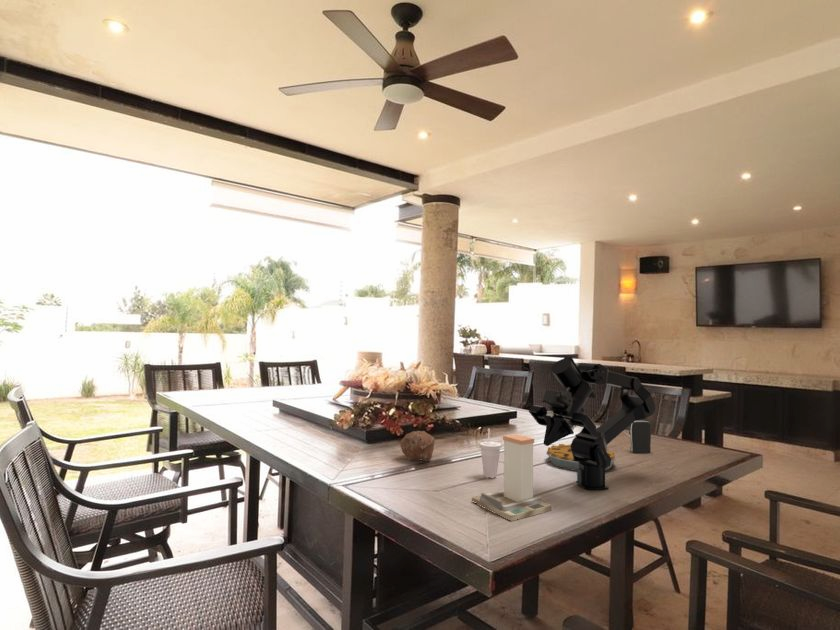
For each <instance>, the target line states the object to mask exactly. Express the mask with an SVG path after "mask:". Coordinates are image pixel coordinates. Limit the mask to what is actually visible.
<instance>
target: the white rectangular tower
mask: <svg viewBox="0 0 840 630" xmlns="http://www.w3.org/2000/svg"><path fill="white" fill-rule="evenodd" d="M502 440H503V490H504V497H506V498H509V499H511V500H513V501H516V502H520V501H524V500H528V499H532V498H534V444H535V438H532V437H529V436H525V435H522V434H518V433H513V434H507V435H502Z"/></svg>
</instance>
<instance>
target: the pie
mask: <svg viewBox="0 0 840 630" xmlns="http://www.w3.org/2000/svg"><path fill="white" fill-rule="evenodd" d="M607 453H608V455H609V456H610V457H611V463H610V466H608V468H605V470H606V471H608V470H610V469H612V466H613V464H614V463H615V461H616V460H617V456H616V454H615V453H614V451H609V449H607ZM546 455H547V456H548V458H549V460H550V462H551V463H552V464H553V466H555V465H557V466H556V467H558V466H560V467H559V468H561V467H564V468H563V469H566V468H569V469H568V470H571V469H573V471H577V468H579V462H576V461H574V458H573V454H572V450H571V443H570V444H564V443H561V444H560V443H559V444H558V445H552V446H551V447H548V448H547V451H546ZM609 468H610V469H609ZM607 469H608V470H607Z"/></svg>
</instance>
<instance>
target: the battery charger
mask: <svg viewBox="0 0 840 630" xmlns="http://www.w3.org/2000/svg"><path fill="white" fill-rule="evenodd" d="M651 428H652V426H651V423H650V422H649V421H647V420H646V421H645V420H638V421H634V422H633V423H632V424H631V425H630V426H628V434H629V435H630V449H629V450H630V452H631V453H633V454H650V453H652V452H651V445H652V444H651V443H652V442H651V441H652V429H651Z"/></svg>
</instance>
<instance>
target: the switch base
mask: <svg viewBox="0 0 840 630" xmlns="http://www.w3.org/2000/svg"><path fill="white" fill-rule="evenodd" d="M472 501H474V502H476V503H477V504H479V505H481V506H483V507H485V508H486V509H485V508H484V509H485V510H487V509H489V510H491V511H493V512H495V513H497V514H498V515H497V514H496V515H497V516H499V515H500V516H499V517H501V516H502V517H501V518H503V517H504V519H505V518H506V520H507V519H508V521H509V520H510V521H509V522H514V521H518V520H522V519H524V518H528V517H531V516H535V515H539V514H543V513H547V512H551V511H552V504H549V503H546V502H544V501H543V500H542V497H540V496H537V497H533V498H532V499H528V500H524V501H520V502H516V501H513V500H511V499H509V498H506V497H504V489H502V490H499V491H495V492H490V493H484V492H481V493H480V495H476V496H472V497H471V502H472ZM477 504H476V505H477ZM479 505H478V506H479ZM481 506H480V507H481ZM483 507H482V508H483ZM489 510H488V511H489ZM491 511H490V512H491ZM493 512H492V513H493ZM495 513H494V514H495ZM517 519H518V520H517Z"/></svg>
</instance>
